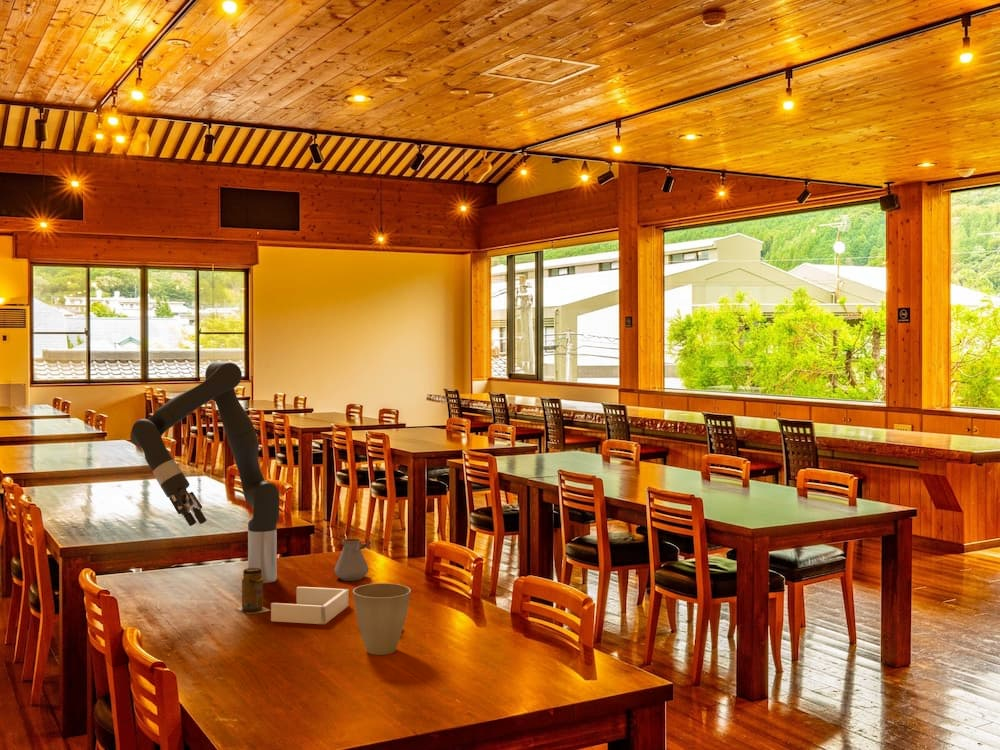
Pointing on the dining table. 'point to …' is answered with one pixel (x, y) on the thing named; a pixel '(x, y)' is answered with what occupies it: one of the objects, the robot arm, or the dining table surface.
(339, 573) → the coffee pot
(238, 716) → the dining table surface
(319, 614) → the caddy
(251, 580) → the condiment
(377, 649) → the plant pot
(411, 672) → the dining table surface
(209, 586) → the dining table surface
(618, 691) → the dining table surface
